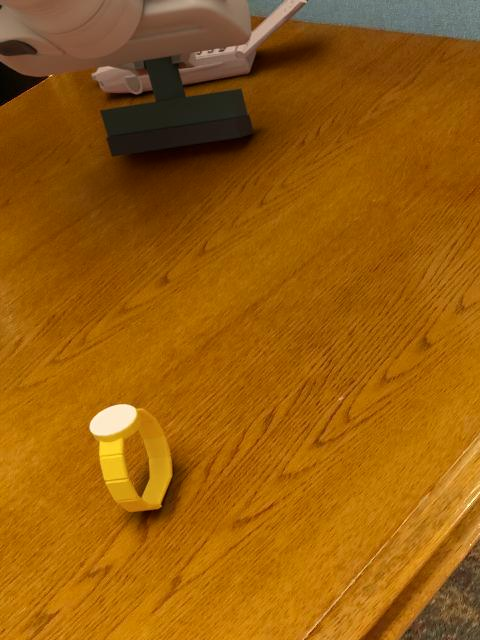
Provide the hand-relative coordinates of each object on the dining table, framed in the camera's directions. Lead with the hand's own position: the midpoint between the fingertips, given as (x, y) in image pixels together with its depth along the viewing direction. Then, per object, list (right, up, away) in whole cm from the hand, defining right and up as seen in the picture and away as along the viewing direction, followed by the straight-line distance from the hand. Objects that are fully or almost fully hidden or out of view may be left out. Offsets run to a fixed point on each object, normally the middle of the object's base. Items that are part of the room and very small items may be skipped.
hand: (166, 63), depth 88 cm
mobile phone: (-1, +6, +14) cm, 15 cm away
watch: (+10, -39, -27) cm, 49 cm away
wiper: (+1, -6, +2) cm, 7 cm away
